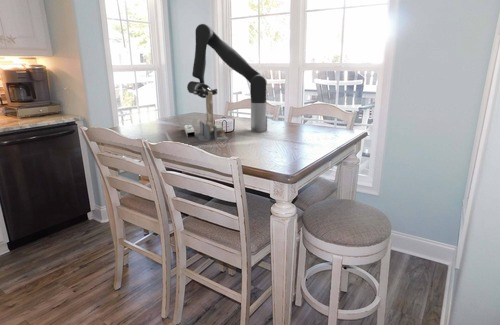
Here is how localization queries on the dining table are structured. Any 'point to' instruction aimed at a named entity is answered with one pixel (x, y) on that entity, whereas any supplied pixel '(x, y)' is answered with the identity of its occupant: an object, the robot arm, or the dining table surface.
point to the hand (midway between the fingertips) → (209, 93)
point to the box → (189, 129)
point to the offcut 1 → (219, 127)
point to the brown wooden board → (209, 110)
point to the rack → (208, 133)
